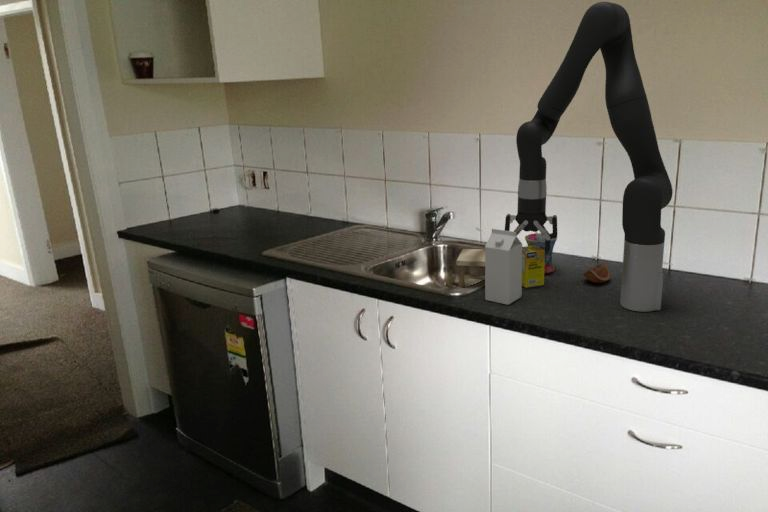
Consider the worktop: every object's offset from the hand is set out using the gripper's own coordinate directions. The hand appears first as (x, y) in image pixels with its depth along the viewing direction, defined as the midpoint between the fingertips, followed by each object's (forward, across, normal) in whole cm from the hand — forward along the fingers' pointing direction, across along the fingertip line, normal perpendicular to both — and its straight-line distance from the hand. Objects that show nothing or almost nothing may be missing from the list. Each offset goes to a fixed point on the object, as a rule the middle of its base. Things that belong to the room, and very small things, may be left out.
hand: (530, 251), depth 180 cm
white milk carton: (+10, +6, +13) cm, 17 cm away
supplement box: (+10, 0, 0) cm, 10 cm away
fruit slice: (+10, -18, -4) cm, 21 cm away
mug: (+10, -3, -14) cm, 17 cm away
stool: (+10, +14, 0) cm, 17 cm away
